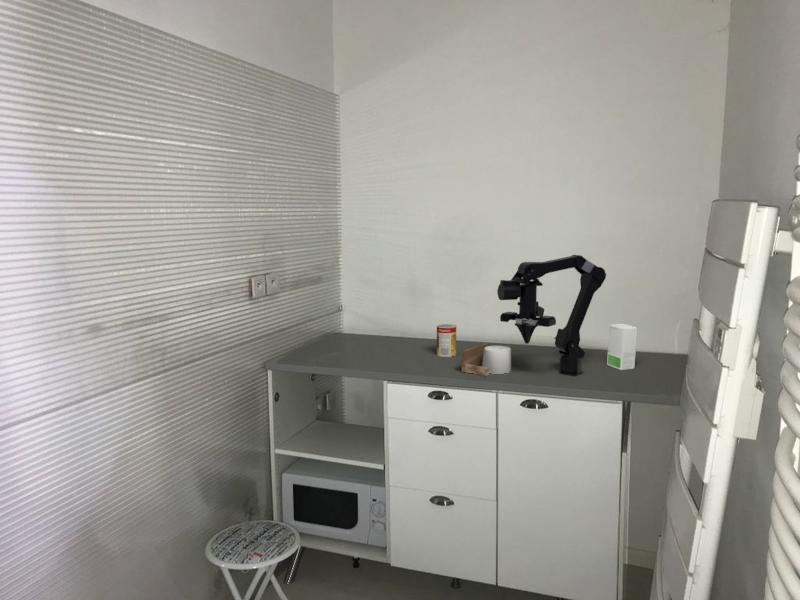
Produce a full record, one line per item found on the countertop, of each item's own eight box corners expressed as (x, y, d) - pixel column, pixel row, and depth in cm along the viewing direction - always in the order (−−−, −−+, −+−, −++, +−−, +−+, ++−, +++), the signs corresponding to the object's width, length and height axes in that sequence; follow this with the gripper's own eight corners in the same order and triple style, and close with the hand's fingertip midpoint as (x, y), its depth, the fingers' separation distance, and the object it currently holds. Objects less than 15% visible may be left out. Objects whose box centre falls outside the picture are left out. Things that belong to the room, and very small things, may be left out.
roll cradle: (511, 367, 240) (511, 346, 239) (486, 376, 227) (486, 354, 226) (486, 363, 246) (487, 342, 245) (461, 372, 233) (461, 350, 232)
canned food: (456, 352, 265) (456, 323, 263) (456, 357, 257) (456, 327, 255) (437, 352, 265) (437, 323, 264) (436, 357, 258) (436, 327, 256)
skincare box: (606, 365, 241) (607, 324, 239) (620, 363, 243) (622, 322, 241) (621, 370, 233) (623, 328, 231) (636, 368, 236) (638, 326, 233)
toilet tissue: (477, 375, 229) (477, 351, 228) (489, 367, 240) (490, 344, 239) (501, 378, 225) (502, 354, 223) (513, 369, 236) (513, 346, 235)
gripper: (563, 298, 223) (562, 343, 225) (515, 294, 234) (514, 336, 237) (548, 302, 214) (547, 348, 216) (499, 297, 226) (499, 341, 228)
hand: (527, 343), depth 225 cm, fingers closed
